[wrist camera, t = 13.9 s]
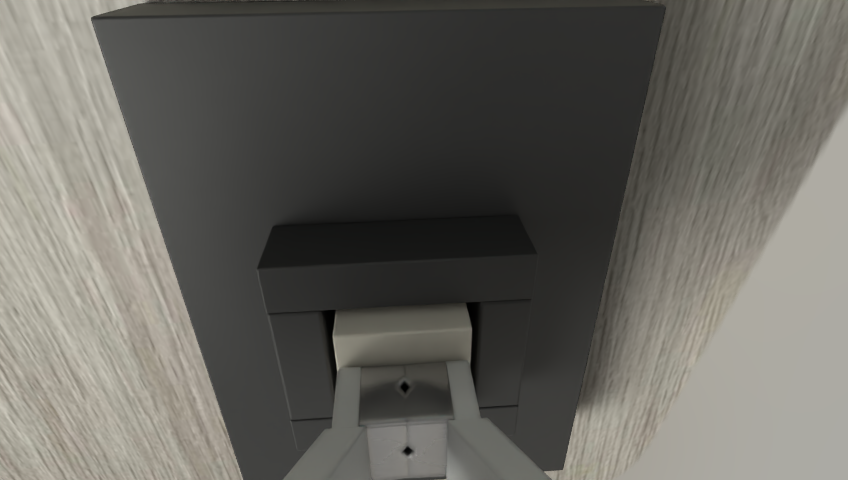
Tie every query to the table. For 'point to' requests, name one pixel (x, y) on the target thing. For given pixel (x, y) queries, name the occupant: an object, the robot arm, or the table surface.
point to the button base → (385, 188)
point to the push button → (402, 335)
